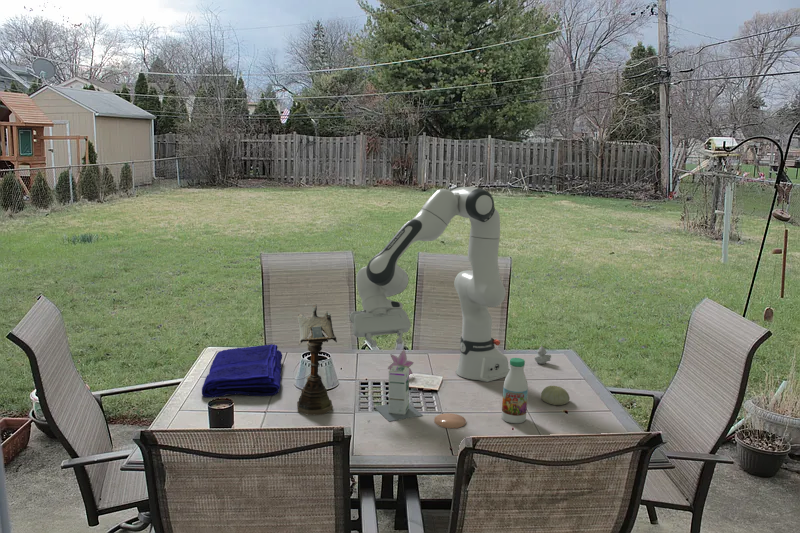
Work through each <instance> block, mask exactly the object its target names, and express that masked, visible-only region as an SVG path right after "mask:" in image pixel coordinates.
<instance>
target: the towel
mask: <svg viewBox="0 0 800 533" xmlns="http://www.w3.org/2000/svg"><path fill="white" fill-rule="evenodd" d="M282 359H283V353H282V352H281V351H280V350H279V349H278V345H277V344H273V343H271V344H265V345H256V346H255V345H254V346H247V347H236V348H228V349H223V350H220V351H217V353H216V355H215V356H214V358H213V360H212V362H211V365H210V368H209V371H208V372H209V373H208V374H207V376H206V377H205V379H204V381H203V384H202V388H201V396H202V397H204V398H206V399H208V398H209V399H211V398H214V397H215V398H220V397H219V396H222V397H224V396H226V395H232V396H233V395H245V396H252V397H253V396H255V397H256V396H257V397H272V396H275V395H277V394H278V393H279V392H280V390H281V383H282V382H281V381H282V375H281V373H282ZM215 398H214V399H215Z"/></svg>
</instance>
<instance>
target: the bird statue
mask: <svg viewBox="0 0 800 533" xmlns="http://www.w3.org/2000/svg"><path fill="white" fill-rule="evenodd" d="M311 309H312V310H311V311H312V312H311V315H310V317H307V316H305V315H304V314H303V313H300V314H298V315H297V316H296V320H297V324H298V331H299V339H298V341H299V342H298V346H300V345H301V344H302V343H305V342H306V345H307V351H308V352H310V363H309V365H310V375H309V376H307V378H306V382H305V385H304V386H303V388H302V389H301V394H300V396H299V397H298V401H297V404H296V405H297V408H296V409H297V412H298V413H301V414H304V415H307V416H317V415H318V416H319V415H321V416H322V415H325V414H327V413H329V412H332V411H333V403H332V401H333V400H332V399H330V397H329V395H328V391H327V388H326V385H324V383H323V381H322V378H323V377H322V376H321V375H320V374H318V372H319V365H320V362H319V354H320V352H321V351H322V350H323V347H322V346H323V343H328V342H329V341H330V340H333V341H334V342H335V343H338V341H337V336H335V333H334V328H333V324H332V322H333V321H332V317H331V313H330V312H329V311H328V310H326V312H324V313H323V314H324V315H323V316H318V314H317V309H318V307H317V303H315V304H313V306H312V308H311ZM310 333H311V334H310ZM309 335H310V336H309Z"/></svg>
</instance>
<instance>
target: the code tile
mask: <svg viewBox="0 0 800 533" xmlns="http://www.w3.org/2000/svg"><path fill="white" fill-rule="evenodd" d="M374 409H376V410H377V412H378V413H379V414H380V415H382V417H384V418H385V419H386V420H387V421H388V422H393V421H394V422H396V421H400V420H406V418H407V419H413V418H417V417H418V418H419V417H423V416H424V415H423V413H421V412H420V411H419V410H417V408H415V407H414V406H413V405H412V404H411V403H409V408H408V410H407V412H406V414H405V415H401V414H392V413H389V412H388V403H387V404H383V405H376V406H374Z"/></svg>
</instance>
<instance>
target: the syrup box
mask: <svg viewBox="0 0 800 533" xmlns="http://www.w3.org/2000/svg"><path fill="white" fill-rule="evenodd" d="M409 368H410V367H406V366H392V368H391V369H390V370H389V371H388V402H387V404H388V412H389V413H392V414H401V415H405V414H406V412H407V410H408V408H409V404H410V395H409V394H410V377H409Z"/></svg>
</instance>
